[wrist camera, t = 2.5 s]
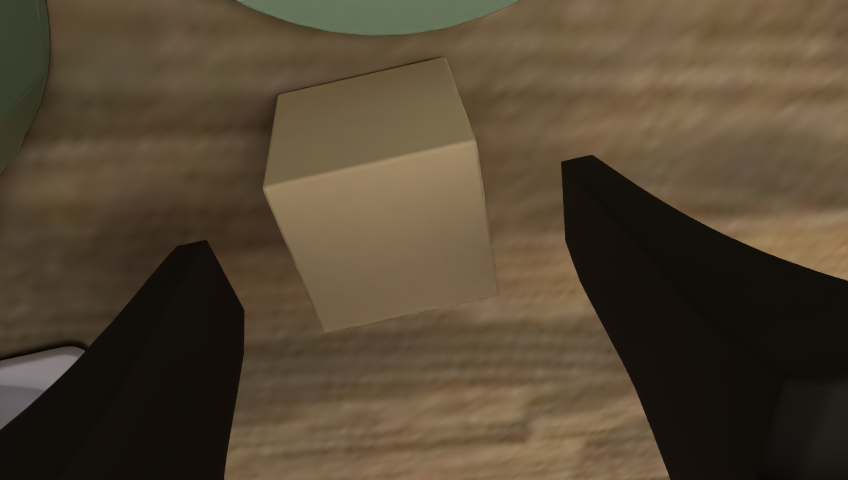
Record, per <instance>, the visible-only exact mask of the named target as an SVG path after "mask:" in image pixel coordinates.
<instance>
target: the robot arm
mask: <svg viewBox="0 0 848 480" xmlns="http://www.w3.org/2000/svg"><path fill="white" fill-rule="evenodd" d="M561 167H562V186H563V205H564V224H565V241H566V244H567V247H568V250H569V252H570V255H571V258H572V261H573V264H574V266H575V269H576V272H577V274H578V277H579V280H580V282H581V284H582V286H583V288H584V290H585V292H586V294H587V296H588V298H589V300H590V302H591V303H592V305H593V307H594V309H595V311H596V313H597V315H598V317H599V319H600V321H601V323H602V324H603V326H604V328H605V330H606V332H607V334H608V336H609V338H610V340H611V341H612V343H613V345H614V347H615V349H616V351H617V353H618V355H619V357H620V358H621V360H622V362H623V364H624V366H625V368H626V370H627V372H628V374H629V376H630V378H631V381H632V383H633V385H634V387H635V389H636V392H637V394H638V397H639V399H640V402H641V404H642V407H643V409H644V412H645V414H646V417H647V419H648V422H649V424H650V427H651V429H652V432H653V434H654V437H655V440H656V442H657V445H658V448H659V450H660V453H661V456H662V458H663V461H664V464H665V466H666V469H667V471H668V474H669V477H670V479H671V480H848V281H847V280H843V279H840V278H837V277H833V276H830V275H827V274H824V273H821V272H817V271H815V270H812V269H809V268H806V267H803V266H800V265H798V264H795V263H792V262H789V261H786V260H783V259H781V258H778V257H775V256H773V255H770V254H768V253H765V252H763V251H760V250H758V249H756V248H753V247H751V246H749V245H746V244H744V243H742V242H740V241H737V240H735V239H733V238H730V237H728V236H726V235H724V234H722V233H720V232H718V231H716V230H714V229H712V228H710V227H708V226H706V225H704V224H702V223H700V222H698V221H697V220H695V219H693V218H691V217H689V216H687V215H685V214H684V213H682V212H680V211H678V210H677V209H675V208H673V207H671V206H670V205H668V204H666V203H665V202H663V201H661V200H660V199H658V198H656V197H655V196H653V195H652V194H650V193H648V192H647V191H645V190H644V189H642V188H641V187H639V186H638V185H636V184H635V183H633V182H632V181H630V180H629V179H627V178H626V177H624V176H623V175H621V174H620V173H618V172H617V171H615V170H614V169H612V168H611V167H609V166H608V165H606V164H605V163H604V162H602V161H601V160H599V159H598V158H596V157H595V156H593V155H589V156H584V157H580V158H575V159H571V160H566V161H562V162H561ZM243 355H244V309H243V307H242V305H241V303H240V301H239V299H238V297H237V296H236V294H235V292H234V290H233V288H232V286H231V284H230V282H229V281H228V279H227V277H226V275H225V273H224V271H223V269H222V268H221V266H220V264H219V262H218V260H217V258H216V256H215V254H214V253H213V251H212V249H211V247H210V245H209V243H208V241H207V240H203V241H198V242H194V243H189V244H185V245H180V246H177V247H176V248H175V249H174V250H173V251H172V252H171V253H170V254H169V255H168V257H167V258H166V259H165V260H164V261H163V262H162V263H161V265H160V266H159V267H158V268H157V269H156V270H155V272H154V273H153V274H152V275H151V276H150V278H149V279H148V280H147V281H146V283H145V284H144V285H143V286H142V287H141V289H140V290H139V291H138V292H137V293H136V294H135V296H134V297H133V298H132V299H131V300H130V302H129V303H128V304H127V305H126V306H125V307H124V309H123V310H122V311H121V312H120V313H119V315H118V316H117V317H116V318H115V319H114V320H113V322H112V323H111V324H110V325H109V326H108V327H107V328H106V329H105V330H104V331H103V332H102V333H101V335H100V336H99V337H98V338H97V339H96V340H95V341H94V342H93V343H92V344H91V345H90V347H89V348H88V349H87V350H86V351H84V350H83V349H80V348H78V347H73V346H68V347H61V348H56V349H52V350H47V351H42V352H38V353H33V354H29V355H24V356H20V357H15V358H10V359H6V360H1V361H0V480H224V473H225V465H226V457H227V450H228V444H229V438H230V433H231V427H232V421H233V415H234V409H235V404H236V398H237V392H238V386H239V380H240V374H241V368H242V361H243Z"/></svg>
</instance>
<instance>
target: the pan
mask: <svg viewBox="0 0 848 480" xmlns="http://www.w3.org/2000/svg"><path fill="white" fill-rule="evenodd" d="M49 54H50V36H49V24H48V12H47V6H46V1H45V0H0V175H1V173H2V172H3V171H4V170H5V168H6V167H7V166H8V165H9V163H10V162H11V161H12V160H13V158H14V157H15V156H16V155H17V153H18V152H19V150H20V149H21V146H22V143H23V140H24V137H25V134H26V132H27V131H28V129H29V128H30V126H31V124H32V122H33V120H34V117H35V115H36V113H37V111H38V109H39V106H40V104H41V102H42V97H43V93H44V89H45V85H46V81H47V77H48V68H49Z"/></svg>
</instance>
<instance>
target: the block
mask: <svg viewBox="0 0 848 480" xmlns="http://www.w3.org/2000/svg"><path fill="white" fill-rule="evenodd" d="M263 192H264V194H265V197H266V199H267V201H268V204H269V206H270V208H271V211H272V213H273V215H274V218H275V220H276V222H277V224H278V227H279V229H280V231H281V234H282V236H283V238H284V241H285V243H286V245H287V248H288V250H289V252H290V255H291V257H292V259H293V262H294V264H295V266H296V269H297V271H298V273H299V276H300V278H301V280H302V282H303V285H304V287H305V289H306V292H307V294H308V296H309V299H310V301H311V303H312V306H313V308H314V310H315V313H316V315H317V317H318V320H319V322H320V324H321V327H322V329H323V331H324V332H332V331H337V330H341V329H346V328H350V327H355V326H360V325H364V324H369V323H373V322H378V321H383V320H387V319H392V318H397V317H401V316H406V315H410V314H415V313H420V312H424V311H429V310H433V309H438V308H443V307H447V306H452V305H457V304H461V303H466V302H470V301H475V300H480V299H484V298H489V297H493V296H497V295H499V285H498V279H497V272H496V265H495V259H494V252H493V246H492V239H491V233H490V226H489V220H488V213H487V206H486V200H485V193H484V187H483V180H482V174H481V167H480V161H479V154H478V147H477V141H476V139H475V136H474V133H473V131H472V128H471V125H470V122H469V120H468V117H467V114H466V111H465V109H464V106H463V103H462V101H461V98H460V95H459V92H458V90H457V87H456V84H455V81H454V79H453V76H452V73H451V71H450V68H449V65H448V62H447V60H446V58H445V57H441V58H437V59H432V60H428V61H424V62H419V63H415V64H411V65H406V66H402V67H397V68H393V69H389V70H384V71H380V72H375V73H371V74H367V75H362V76H358V77H354V78H349V79H345V80H340V81H336V82H332V83H327V84H323V85H318V86H314V87H310V88H305V89H301V90H297V91H292V92H288V93H283V94H280V95H278V98H277V104H276V110H275V116H274V122H273V128H272V134H271V140H270V146H269V152H268V158H267V164H266V170H265V176H264V182H263Z"/></svg>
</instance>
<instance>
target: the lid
mask: <svg viewBox="0 0 848 480" xmlns="http://www.w3.org/2000/svg"><path fill="white" fill-rule="evenodd" d="M235 1H237V2H239V3H241V4H243V5H245V6H247V7H249V8H251V9H254V10H257V11H259V12H262V13H265V14H268V15H270V16H273V17H276V18H279V19H281V20H284V21H287V22H290V23H293V24H298V25H302V26H306V27H311V28H315V29H319V30H324V31H328V32H335V33H345V34H355V35H366V36H380V35H408V34H414V33H421V32H427V31H433V30H439V29H445V28H448V27H452V26H455V25H458V24H462V23H465V22H468V21H472V20H475V19H479V18H482V17H484V16H486V15H489V14H491V13H493V12H495V11H498V10H500V9H502V8H504V7H507V6H509V5H511V4H514V3H516V2H518V1H520V0H235Z"/></svg>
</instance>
